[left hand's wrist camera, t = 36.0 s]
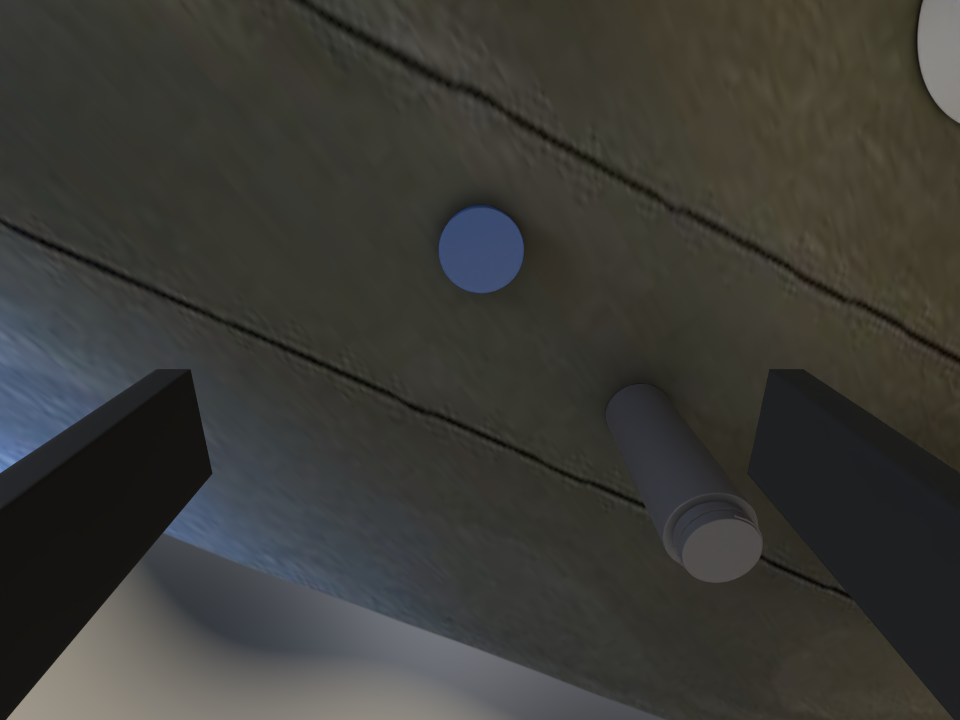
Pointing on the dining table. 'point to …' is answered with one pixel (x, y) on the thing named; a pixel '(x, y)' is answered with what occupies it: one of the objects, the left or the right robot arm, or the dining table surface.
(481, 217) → the lid
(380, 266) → the dining table surface
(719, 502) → the jar
